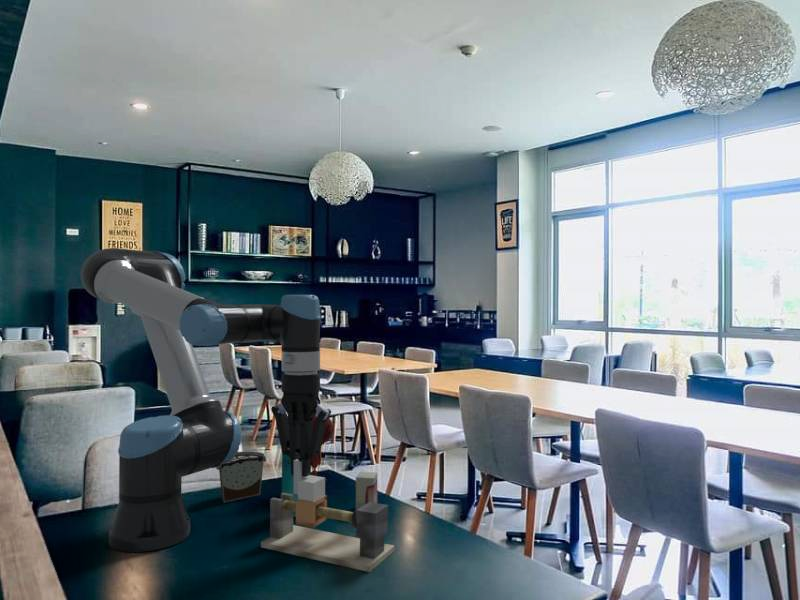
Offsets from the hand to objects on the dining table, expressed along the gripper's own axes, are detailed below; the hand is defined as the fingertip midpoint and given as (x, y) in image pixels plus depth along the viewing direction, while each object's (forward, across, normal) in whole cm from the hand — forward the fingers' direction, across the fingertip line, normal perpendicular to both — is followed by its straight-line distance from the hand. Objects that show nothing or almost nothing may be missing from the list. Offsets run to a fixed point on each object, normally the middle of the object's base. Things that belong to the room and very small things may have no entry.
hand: (300, 491), depth 117 cm
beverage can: (+10, -11, +13) cm, 20 cm away
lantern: (+10, -17, +30) cm, 36 cm away
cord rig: (+10, +6, 0) cm, 12 cm away
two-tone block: (+6, +2, 0) cm, 6 cm away
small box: (+10, +2, +23) cm, 25 cm away
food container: (+10, -31, +17) cm, 37 cm away
